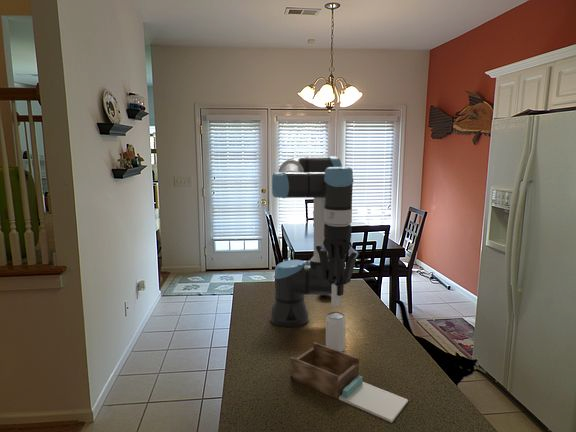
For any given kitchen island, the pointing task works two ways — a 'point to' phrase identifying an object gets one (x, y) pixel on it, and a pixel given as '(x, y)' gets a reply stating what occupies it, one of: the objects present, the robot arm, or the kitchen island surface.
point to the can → (335, 331)
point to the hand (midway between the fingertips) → (336, 305)
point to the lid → (373, 399)
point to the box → (325, 369)
